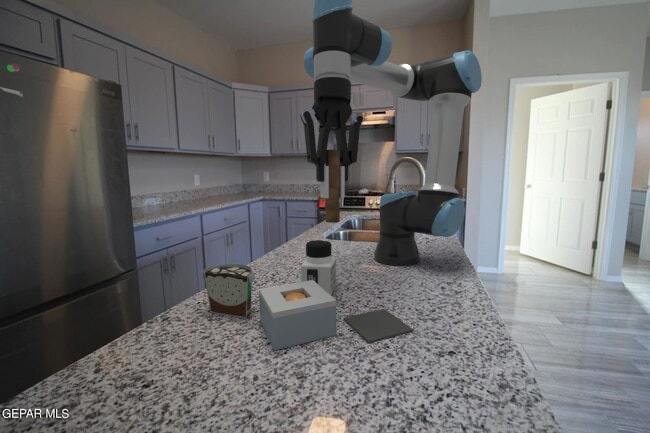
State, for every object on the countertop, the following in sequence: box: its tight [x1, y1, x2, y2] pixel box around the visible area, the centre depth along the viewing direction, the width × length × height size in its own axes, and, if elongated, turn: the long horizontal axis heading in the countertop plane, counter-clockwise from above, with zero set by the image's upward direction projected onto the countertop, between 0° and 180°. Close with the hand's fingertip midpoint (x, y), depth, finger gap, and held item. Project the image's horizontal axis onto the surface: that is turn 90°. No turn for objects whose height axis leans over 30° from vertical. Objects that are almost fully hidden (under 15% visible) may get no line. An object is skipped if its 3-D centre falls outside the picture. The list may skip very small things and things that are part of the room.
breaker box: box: [258, 280, 337, 351], centre depth 62 cm, size 12×12×7 cm
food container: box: [201, 263, 256, 319], centre depth 70 cm, size 12×6×10 cm, turn 71°
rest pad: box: [343, 308, 414, 344], centre depth 63 cm, size 10×10×1 cm
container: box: [300, 239, 337, 296], centre depth 81 cm, size 8×8×13 cm
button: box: [285, 293, 306, 301], centre depth 62 cm, size 4×4×3 cm
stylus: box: [324, 149, 341, 224], centre depth 66 cm, size 3×3×15 cm
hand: (332, 197), depth 66 cm, fingers closed on stylus, 3 cm apart
